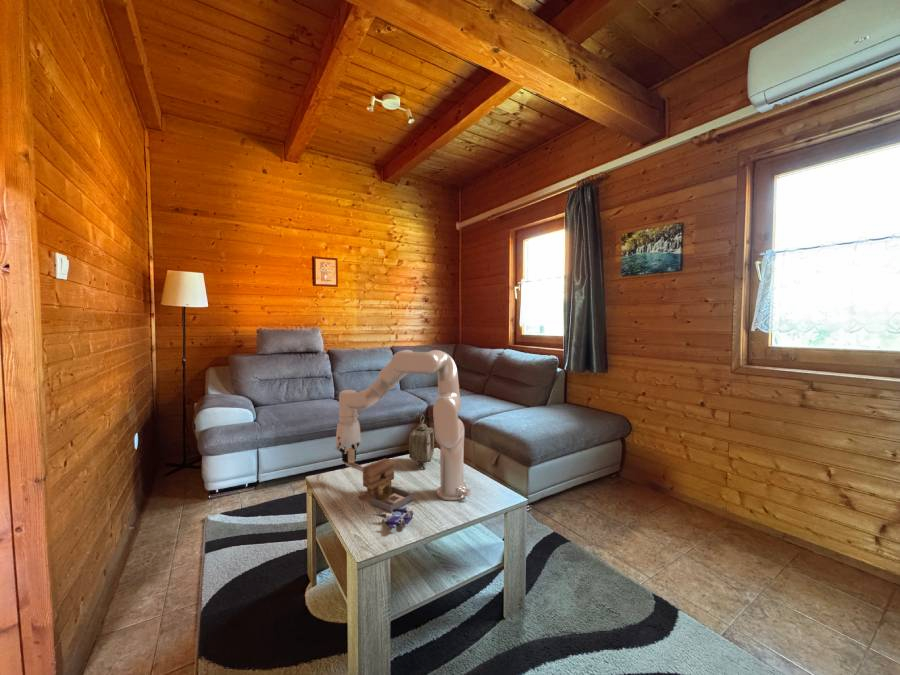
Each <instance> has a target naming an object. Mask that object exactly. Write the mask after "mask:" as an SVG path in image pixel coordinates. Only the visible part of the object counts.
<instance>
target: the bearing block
mask: <svg viewBox="0 0 900 675" xmlns="http://www.w3.org/2000/svg"><path fill="white" fill-rule="evenodd" d="M380 474H382V478H380ZM394 479H395V461H394V460H392V459H390V458H386V457H385V458H383V459H379V460H378V461H375V462H372V463H371V464H368V465H365V466H363V472H362V486H363V487H365V488H366V491H364V492H362V493H360V494H359V495H357V499H359V500H360V501H362V502H364V503H367V504H370V497H372V496H374V495H376V494H378V485H379V484H381V483H383V482H385V481H387V480H391V481H392V480H394ZM386 489H387V486H386V487H384V488H383V491H384V490H386Z"/></svg>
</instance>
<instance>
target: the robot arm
mask: <svg viewBox="0 0 900 675" xmlns="http://www.w3.org/2000/svg"><path fill="white" fill-rule="evenodd" d="M434 373H436V374H437V387H438V397H437V399H436V400H435V401H434V404H433V408H432V411H433V412H432V415H433V425H434V427H433V428H434V439H435V441H436V443H437V444H438V446H439V447H440V450H439V451H440V454H439V455H440V456H439V457H440V459H439V460H440V461H439V462H440V464H439V465H440V470H439V471H440V472H439V474H440V475H439V478H440V480H439V481H440V483H439V484H440V486H439V487H437V489H436V495H437V497H438V498H440V499H442V500H445V501H460V500H462V499H464V498H465V497H468V498H469V497H470V496H471V491H472V490H471V489H470V488H468V487H467V486H466V485H467V483H465V481H464V453H465V452H464V449H465V448H464V446H465V424H464V423H463V421H462V420H461V419H460V418H459V416H458V414H459V413H458V412H459V411H460V409H461V406H462V405H461V404H462V401H461V396H460V395H461V394H460V392H461V391H460V383H459V374H458V373H459V372H458V368H457V364H456V362H455V360H454V359H453V357H452V356H450V354H448V353H447V352H445V351H442V350H440V349H439V350H438V349H433V350H429V351H426V352H424V351H422V352H421V351H420V352H419V351H417V352H414V351H413V350H411V349H403V350H400V351H397V352H395V353H394V354H393V355H392V357H391V359H390V362H388V363H387V365H385V366H384V367H383V368H382V369H381V370H380V371H379V376H378V378H377V379H376V380H375V381H374V382H372V384H371V385H370V386H369V387H368V388H365V389H364V390H363V389H362V390H361V391H358V392H357V391H356V390H354V389H345V390H341V391H340V392H339V394H338V400H339V403H338V404H339V408H338V410H339V412H338V413H339V422H338V423H337V425H336V426H337V427H336V433H335V434H336V435H335V446H334V449H335V450H336V451H338V452H340V453H341V461H342V462H343V463H344V462H345V463H348V453H347V448H348V447H349V446H350V448H353V449H355V461H356V460H357V450H358V449H359V448H358V447H359V446H360V444H361V443H362V442H363V439H362V437H361V436H362V434H361V426H360V421H359V420H358V419H359V417H360V414H359V413H358V411H359V410H360V411H362V410H363V411H364V410H366V409H368V408H369V407H371V406H374V405H375V404H376V403H378V402H379V401H380V400H381V399H382V398H383V397H384V396H385V395H387V394H388V393H389V392H390V390H392V389H393V388H394V387H395V386H396V385H397V383H399V382H400V381H401V380H402V379H403V378H404V377H405V376H407V374H410V375H411V374H415V375H416V374H417V375H418V374H419V375H430V374H431V375H432V374H434Z"/></svg>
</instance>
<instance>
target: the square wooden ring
mask: <svg viewBox="0 0 900 675" xmlns="http://www.w3.org/2000/svg"><path fill="white" fill-rule="evenodd" d="M404 498H405V497H402V496H400V495H397V494H395V493H394V494H392V495H390V496H388V497H386V498H384V499H383V503H385V504H388V505H390V506H391V505H393V504H395V503H396V502H398V501H400V500H402V499H404ZM393 499H395V501H392V500H393Z"/></svg>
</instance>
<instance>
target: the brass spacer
mask: <svg viewBox="0 0 900 675" xmlns="http://www.w3.org/2000/svg"><path fill="white" fill-rule="evenodd" d="M386 486H387V492H386V493H383V488H384V487H386ZM391 487H392V480H387V481H385V482H383V483H381V484H379V485H378V500H379V501H381V500H383V499H384V498H386V497H388V496H390V495H391Z"/></svg>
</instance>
